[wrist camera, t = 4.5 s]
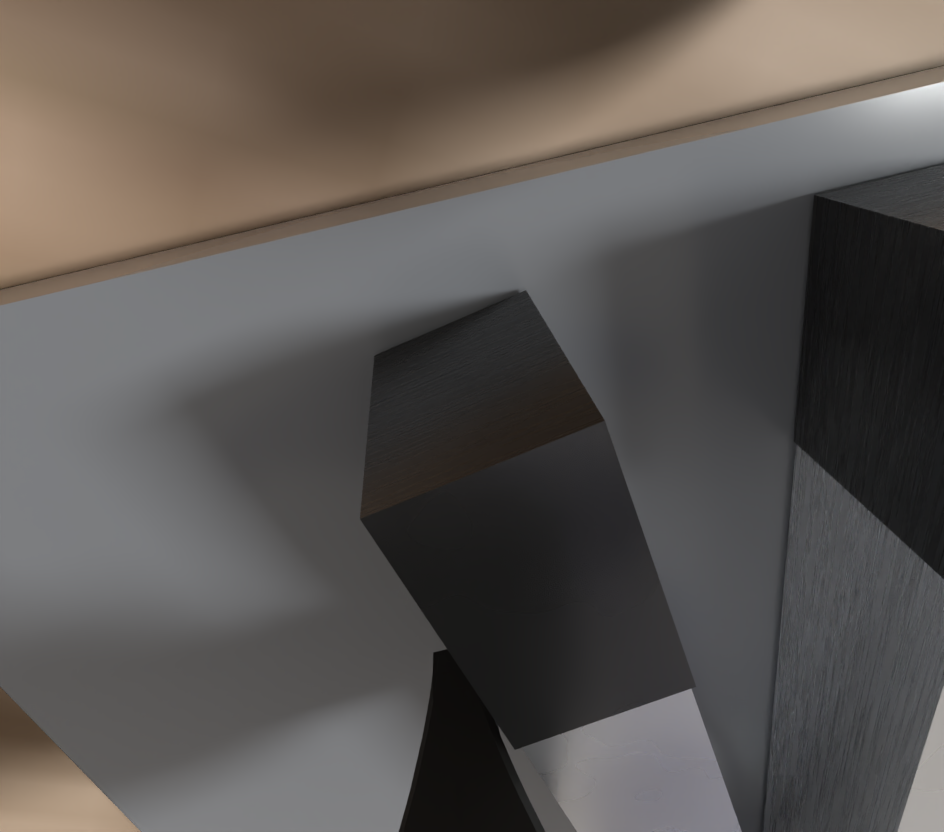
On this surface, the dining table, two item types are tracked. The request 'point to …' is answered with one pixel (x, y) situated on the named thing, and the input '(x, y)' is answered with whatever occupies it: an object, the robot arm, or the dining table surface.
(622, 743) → the bar
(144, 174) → the dining table surface
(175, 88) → the dining table surface
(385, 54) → the dining table surface
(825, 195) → the tongs fixed
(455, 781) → the robot arm
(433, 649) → the slate board
